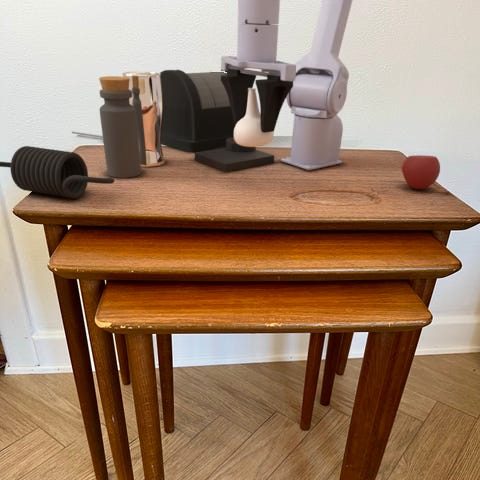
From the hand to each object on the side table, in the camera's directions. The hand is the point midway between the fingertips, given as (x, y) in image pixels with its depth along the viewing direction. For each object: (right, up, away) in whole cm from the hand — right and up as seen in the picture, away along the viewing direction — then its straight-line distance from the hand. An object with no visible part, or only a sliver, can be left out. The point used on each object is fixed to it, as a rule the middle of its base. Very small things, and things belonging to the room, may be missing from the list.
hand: (253, 127), depth 72 cm
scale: (-3, +1, +18) cm, 19 cm away
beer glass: (-20, 0, +16) cm, 25 cm away
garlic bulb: (0, -2, +1) cm, 3 cm away
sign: (-41, +13, +33) cm, 54 cm away
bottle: (-23, -4, +9) cm, 25 cm away
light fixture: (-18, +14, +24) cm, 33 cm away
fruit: (+25, -5, +7) cm, 27 cm away
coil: (-28, -4, -2) cm, 29 cm away
